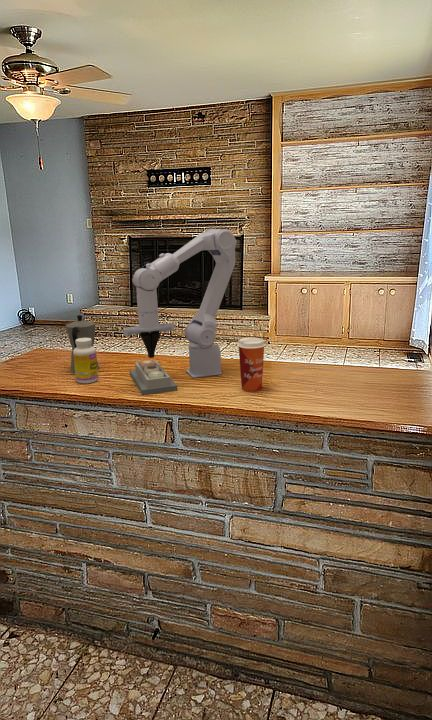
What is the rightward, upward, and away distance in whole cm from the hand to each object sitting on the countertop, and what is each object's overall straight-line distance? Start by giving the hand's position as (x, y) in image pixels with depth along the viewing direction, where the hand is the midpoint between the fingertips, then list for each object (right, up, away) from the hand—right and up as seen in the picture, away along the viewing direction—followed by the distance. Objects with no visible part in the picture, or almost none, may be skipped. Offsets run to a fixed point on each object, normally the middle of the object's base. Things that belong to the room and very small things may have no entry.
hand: (151, 357), depth 150 cm
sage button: (+2, -8, -4) cm, 9 cm away
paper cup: (+29, -9, -5) cm, 31 cm away
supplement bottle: (-20, -7, +5) cm, 22 cm away
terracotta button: (-2, -4, +7) cm, 9 cm away
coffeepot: (-24, -5, +15) cm, 28 cm away
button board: (0, -7, +2) cm, 8 cm away
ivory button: (0, -6, +2) cm, 6 cm away
